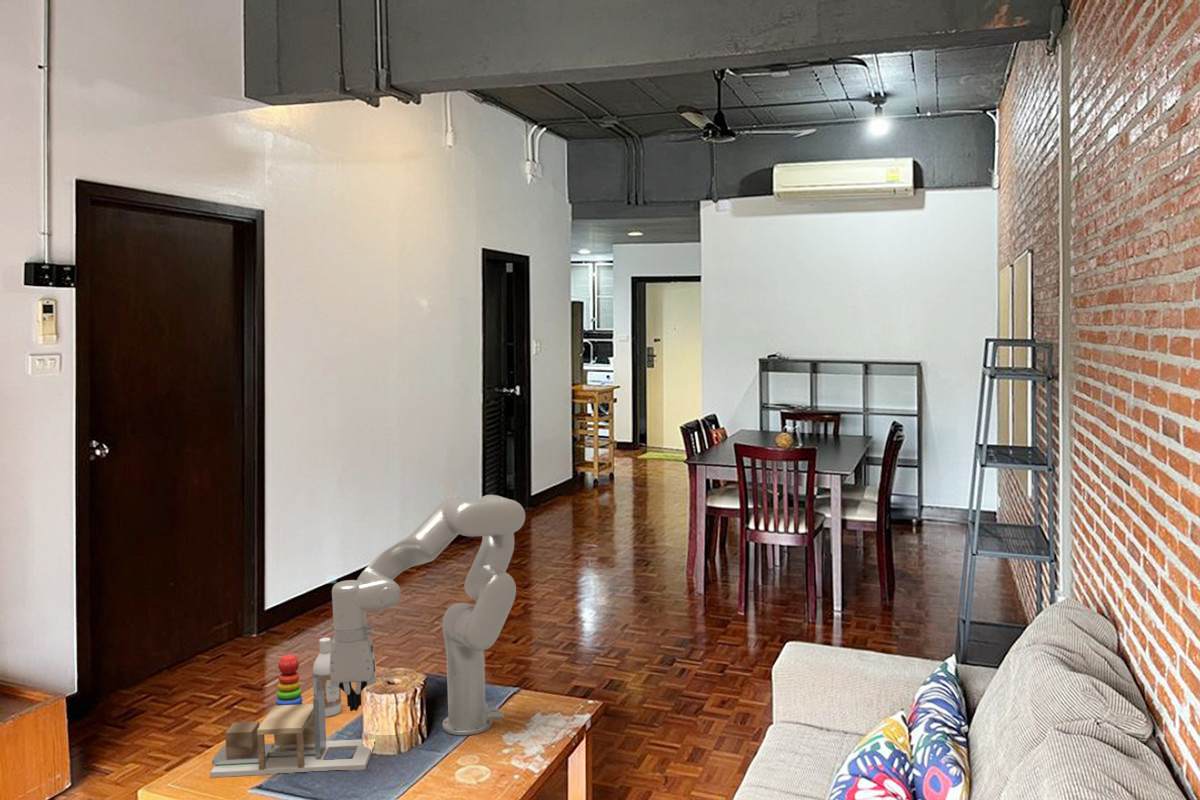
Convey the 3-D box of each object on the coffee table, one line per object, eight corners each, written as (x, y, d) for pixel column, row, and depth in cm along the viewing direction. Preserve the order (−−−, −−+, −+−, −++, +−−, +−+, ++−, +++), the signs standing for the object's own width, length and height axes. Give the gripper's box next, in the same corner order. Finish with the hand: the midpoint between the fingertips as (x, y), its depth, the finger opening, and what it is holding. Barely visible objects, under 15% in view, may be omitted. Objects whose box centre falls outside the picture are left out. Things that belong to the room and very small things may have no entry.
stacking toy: (287, 735, 237) (284, 662, 236) (266, 728, 241) (263, 657, 240) (312, 723, 244) (309, 653, 243) (291, 717, 248) (288, 648, 247)
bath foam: (322, 719, 246) (319, 645, 245) (309, 712, 251) (306, 639, 250) (346, 712, 251) (343, 638, 250) (333, 705, 256) (330, 633, 255)
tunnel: (317, 741, 230) (315, 703, 230) (303, 767, 216) (301, 727, 216) (275, 743, 230) (274, 705, 229) (259, 769, 216) (257, 729, 215)
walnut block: (260, 745, 225) (259, 721, 225) (252, 756, 219) (251, 731, 219) (234, 746, 225) (233, 722, 225) (226, 758, 219) (225, 733, 219)
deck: (375, 743, 231) (375, 738, 231) (365, 769, 217) (364, 764, 217) (229, 750, 229) (229, 745, 229) (210, 777, 215) (209, 772, 215)
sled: (327, 744, 228) (324, 688, 227) (319, 759, 220) (317, 701, 219) (223, 749, 226) (220, 692, 225) (211, 764, 218) (208, 706, 217)
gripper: (385, 626, 226) (389, 700, 228) (322, 630, 225) (326, 704, 227) (379, 637, 219) (383, 713, 220) (314, 640, 218) (319, 717, 219)
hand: (354, 708), depth 224 cm, fingers closed
